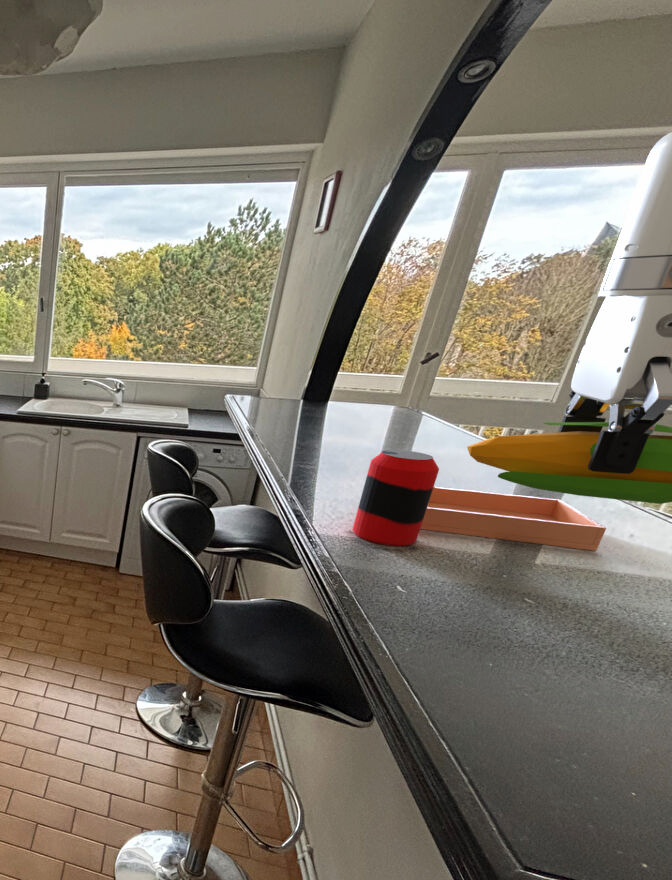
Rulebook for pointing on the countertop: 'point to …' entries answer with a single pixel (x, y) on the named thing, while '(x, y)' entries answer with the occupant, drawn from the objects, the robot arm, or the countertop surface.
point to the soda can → (395, 497)
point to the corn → (579, 464)
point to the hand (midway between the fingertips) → (589, 461)
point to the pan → (511, 518)
